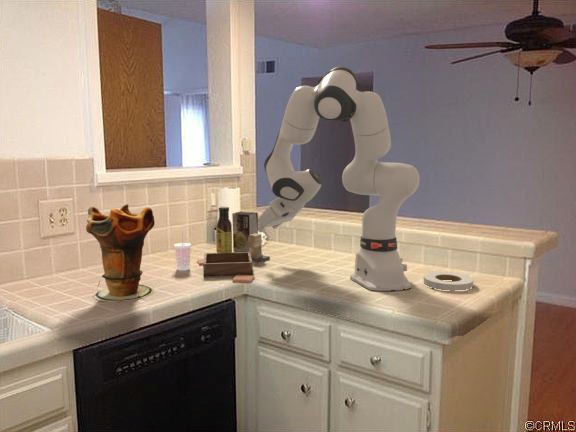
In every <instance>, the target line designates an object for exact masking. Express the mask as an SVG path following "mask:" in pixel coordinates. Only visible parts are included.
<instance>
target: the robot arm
mask: <svg viewBox="0 0 576 432" xmlns="http://www.w3.org/2000/svg"><path fill="white" fill-rule="evenodd" d="M386 111H387V110H386V109H385V105H384V103H383V100H382V98H381V96H380V95H379V94H378V93H376V92H373V91H368V90H367V91H359V90H358V79H357V76H356V74H355V73H354V72H353V70H352V69H350V68H349V67H346V66H337V67H334V68H332V69H330V70H329V71H328V72H327V73H326V74H325V75H323V77H321V78H320V79H319V80H318V81H317V85H315V86H310V85H301V86H298V87H296V88H295V89H294V90H293V91H292V94H291V95H290V98H289V99H288V102H287V104H286V107H285V111H284V115H283V118H282V122H281V125H280V128H279V131H278V134H277V136H276V139H275V143H274V145H273V148H272V150H271V151H270V153H269V155H268V156H267V157H266V158H265V161H264V164H263V167H264V171H265V173H266V175H267V179H268V182H269V185H270V187H271V188H270V189H271V191H272V194H273V195H274V196H275V197H277V198H275V199H273V200H271V201H270V203H269V205H268V207H267V208H266V209H265V210H264V211H263V212H262V213H261V215H260V216H258V225H259V226H258V233H259V234H262V233H263V232H265V231H266V228H268V227H272V229H274V230H275V229H277V228H278V227H280V226H281V225H283V224H284V223H288V222H291V221H293V219H294V218H295V217H296V216H298V214H299V213H300V212H301V211H302V210H303V209H304V207H305V205H306V203H309V202H310V201H311V200H312V199H313V198H314V197H315V196H316V195H317V194H318V192H319V190H320V189H321V186H322V181H321V178H320V175H318V173H317V172H316V171H315V170H313V169H312V168H308V169H306V170H302V171H297V170H296V171H295V169H294V166H293V163H292V159H291V152H292V149H293V147H294V145H296V146H297V145H305V144H307V143H309V142H310V141H311V140H312V139H313V137H314V136H315V134H316V131H317V128H318V124H319V121H320V118H321V120H323V121H327V122H333V123H334V122H344V123H345V122H348V121H349V120H350V125H351V130H352V134H353V139H354V146H355V154H354V156H353V159H352V161H351V162H349V164H347V165H346V167H345V168H344V169H343V170H342V171H343V172H342V175H341V182H342V185H343V187H344V189H345V190H346V191H348V192H350V193H353V194H356V195H363V196H378V197H379V199H378V202H377V204H375V205H372V206H370V207H368V208H367V209H366V210H365V211H364V212H363V213H362V216H361V217H362V218H361V220H362V221H361V236H360V240H359V246H360V249H359V250H358V252H357V253H356V254H355V261H354V262H355V263H354V264H355V265H354V273H353V274H350V275H349V279H350V280H352V281H353V280H354V282H355V283H357V284H359V285H360V286H362V287H364V288H366V289H367V290H369V291H379V292H382V291H383V292H387V291H388V292H389V291H390V292H391V290H395V291H404V290H403V289H405V290H409V288H410V289H411V288H412V284H411V283H410V281H409V280H408V278H407V276H406V275H405V272H407V271H408V265H407V264H406V263H403V258H402V257H400V254H399V251H398V250H397V249H398V240H397V237H396V231H397V230H396V229H397V217H398V213H399V210H400V208H401V206H402V205H403V203H404V202H405V201H406V200H408V198H409V197H411V196H412V195H414V193H415V192H416V191H417V190H418V188H419V186H420V182H421V181H420V179H421V178H420V174H419V171H418V169H417V168H416V167H415V166H414V165H413V164H412V165H411V164H407V163H403V162H402V163H401V162H387V161H385V162H384V161H379V159H381V158H382V157H384V156H385V155H386V154H388V152H389V151H390V149H391V148H392V140H391V139H392V138H391V132H390V125H389V121H388V116H387V112H386Z"/></svg>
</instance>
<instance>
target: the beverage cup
mask: <svg viewBox="0 0 576 432" xmlns="http://www.w3.org/2000/svg"><path fill="white" fill-rule="evenodd" d="M191 247H192V244H191V243H190V242H184V231H183V230H181V242H179V243H174V244H173V248H174V252H175V263H176V264H175V265H176V270H178V271H188V270H190V269H191Z"/></svg>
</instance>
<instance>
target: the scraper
mask: <svg viewBox="0 0 576 432" xmlns="http://www.w3.org/2000/svg"><path fill="white" fill-rule="evenodd" d="M262 240H263V239H262V233H258V234H256V233H255V234H251V235H249V252H250V255H251V258H252V262H253V261H255V263H259V262H260V263H263V262H266V261H269V260H270V259H271V257H270V255H269V256H267V255H262V253H263V251H262V246H263V245H262V243H263V242H262ZM268 259H269V260H268ZM265 260H266V261H265ZM262 261H263V262H262Z"/></svg>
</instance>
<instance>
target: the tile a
mask: <svg viewBox="0 0 576 432" xmlns="http://www.w3.org/2000/svg"><path fill="white" fill-rule="evenodd" d="M196 262H197V264H198V265H199V266H203V262H204V258H199V259H197V260H196Z"/></svg>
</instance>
